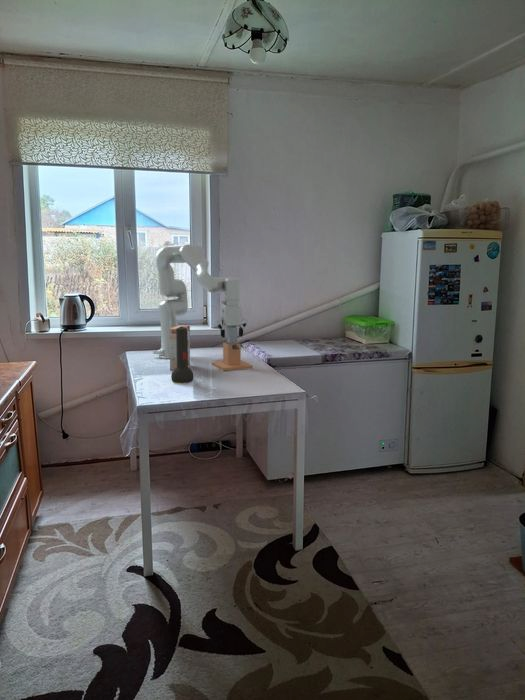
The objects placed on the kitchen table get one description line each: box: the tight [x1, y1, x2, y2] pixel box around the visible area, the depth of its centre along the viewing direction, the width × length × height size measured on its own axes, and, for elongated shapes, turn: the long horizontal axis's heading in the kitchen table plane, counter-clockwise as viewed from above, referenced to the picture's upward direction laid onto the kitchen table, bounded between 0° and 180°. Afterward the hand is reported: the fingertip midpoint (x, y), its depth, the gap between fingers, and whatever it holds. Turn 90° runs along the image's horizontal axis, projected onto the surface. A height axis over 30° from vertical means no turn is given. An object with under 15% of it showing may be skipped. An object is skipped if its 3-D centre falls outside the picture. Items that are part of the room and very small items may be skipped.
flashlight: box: [170, 326, 195, 384], centre depth 225 cm, size 10×25×10 cm
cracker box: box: [169, 324, 191, 371], centre depth 252 cm, size 14×6×21 cm, turn 168°
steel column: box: [226, 326, 238, 345], centre depth 256 cm, size 5×5×20 cm
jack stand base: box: [211, 342, 253, 372], centre depth 257 cm, size 16×16×12 cm
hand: (231, 336), depth 255 cm, fingers open, 9 cm apart
